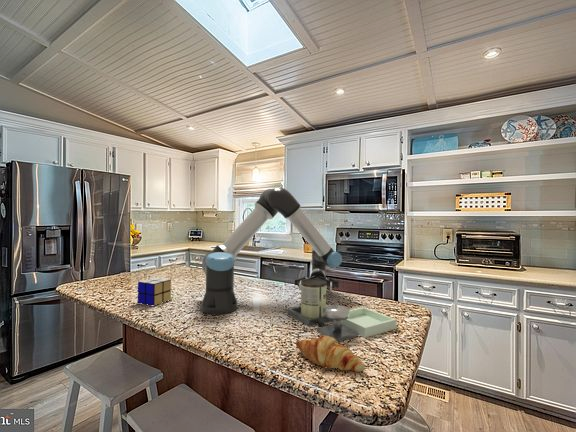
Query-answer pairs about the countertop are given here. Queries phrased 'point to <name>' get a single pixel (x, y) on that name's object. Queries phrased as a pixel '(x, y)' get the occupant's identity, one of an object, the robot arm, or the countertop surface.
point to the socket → (309, 322)
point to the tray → (369, 322)
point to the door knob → (337, 324)
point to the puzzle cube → (154, 291)
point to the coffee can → (313, 298)
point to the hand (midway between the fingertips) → (315, 287)
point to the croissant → (330, 354)
